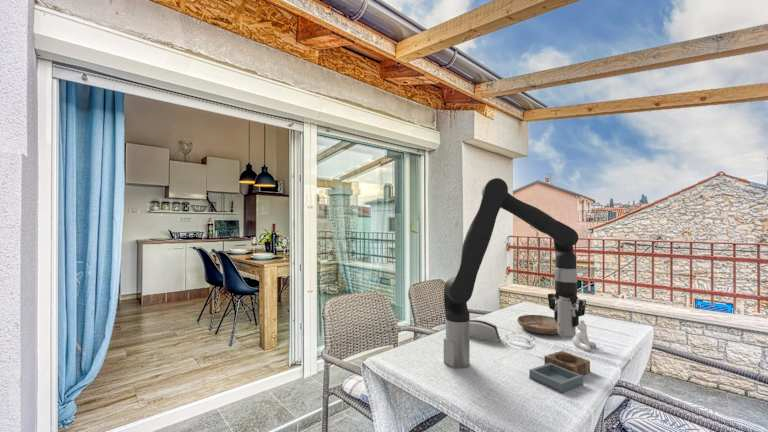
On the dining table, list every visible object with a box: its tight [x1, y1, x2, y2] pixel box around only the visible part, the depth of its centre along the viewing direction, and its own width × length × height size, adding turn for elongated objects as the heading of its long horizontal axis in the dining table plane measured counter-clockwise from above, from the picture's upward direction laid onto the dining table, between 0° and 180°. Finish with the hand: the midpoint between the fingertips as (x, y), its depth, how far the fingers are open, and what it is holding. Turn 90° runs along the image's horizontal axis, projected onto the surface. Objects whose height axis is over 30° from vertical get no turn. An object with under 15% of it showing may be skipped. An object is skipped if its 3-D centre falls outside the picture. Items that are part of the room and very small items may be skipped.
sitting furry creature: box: [571, 319, 597, 353], centre depth 148 cm, size 10×9×12 cm
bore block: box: [544, 350, 591, 376], centre depth 126 cm, size 12×12×4 cm
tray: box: [528, 363, 584, 394], centre depth 116 cm, size 12×12×3 cm
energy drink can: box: [556, 296, 577, 339], centre depth 127 cm, size 6×6×15 cm
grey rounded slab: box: [470, 318, 501, 343], centre depth 160 cm, size 17×5×10 cm, turn 53°
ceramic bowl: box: [516, 314, 559, 335], centre depth 172 cm, size 23×24×5 cm
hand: (566, 323), depth 126 cm, fingers closed on energy drink can, 6 cm apart
